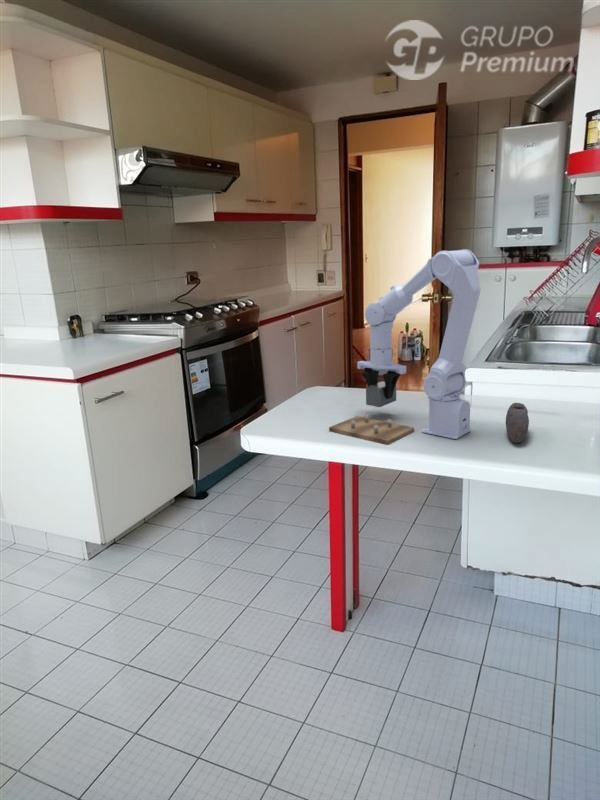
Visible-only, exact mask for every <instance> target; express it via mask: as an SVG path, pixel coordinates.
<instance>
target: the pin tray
mask: <svg viewBox="0 0 600 800" xmlns="http://www.w3.org/2000/svg"><path fill="white" fill-rule="evenodd" d="M328 432H332V433H337V434H341V435H345V436H350V437H354V438H358V439H363V440H367V441H370V442H375V443H380V444H383V445H387V446H388V445H390V444H392V443H395V442H396V441H398V440H400V439H402V438H404V437H406V436H408V435H410V434H412V433H414V432H415V427H413V426H408V425H403V424H397V423H393V422H392V418H387V421H383V420H379V419H373V418H369V414H364V416H363V417H362V416H358V415H356V416H353V417H351V418H348V419H347V420H343V421H341V422H338V423H337V424H334V425H330V427H328Z"/></svg>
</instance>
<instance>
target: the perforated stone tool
mask: <svg viewBox="0 0 600 800" xmlns="http://www.w3.org/2000/svg"><path fill="white" fill-rule="evenodd" d="M528 413H529V411H528V408H527V407H526V405H525V404H523V403H520V402H513V403H512V404H511V405H510V406H509V407H508V409H507V411H506V415H505V427H506V428H505V429H506V432H507V434H508V436H509V439H510V440H511V441H512V442H513V443H514V444H519V443H521V442H523V441H524V440H525V439H526V436H527V435H528V431H529V426H530V418H529V415H528Z"/></svg>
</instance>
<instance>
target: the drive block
mask: <svg viewBox="0 0 600 800" xmlns="http://www.w3.org/2000/svg"><path fill="white" fill-rule="evenodd" d="M365 399H366V400H365V405H366V406H370V407H376V408H382V407H385V406H387V405H389V404H392V403H394V402H396V401H397V384H396V385H395V388H394V392H393V396H392V398H390V399H386V388H385V381H383V380H382V381H378V382H377V383H376V384H373V385H370V386H368V385H367V386H366V387H365Z"/></svg>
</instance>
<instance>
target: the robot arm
mask: <svg viewBox="0 0 600 800" xmlns="http://www.w3.org/2000/svg"><path fill="white" fill-rule="evenodd" d="M479 267H480V261H479V260H478V258H477V257H476V255H475V254H474V253H473V251H471V250H470V249H465V248H463V249H458V250H439V251H437V252H436V254H435V255H434V256H432V257H430V258H429V259H428V260H427V261H426V263H425V264H424V265H423V266H422V267H421V268H420V269H419V270H418V271H417V272H416V273H415V274H414V275H413V276H412V277H411V278H410V279H409V280H408V281H407V282H406V283H405V284H404V285H403V284H396V285H392V286H390V290H389V292H387V293H386V294H385V295H384V296H380V298H378V302H372V303H369V304H368V306H367V307H366V308H365V312H364V317H365V320H366V323H367V324H369V351H370V355H369V356H370V358H369V359H370V360H359V361H357V362H356V364H357V365H356V368H357V370H362V369H363V371H361V375H362V377H363V378H364V380H365V382H366V385H367V386H370V385H373V384H376V383H378V379H379V373H380V372H385V373H383V374H382V377H383V380H384V381H385V388H386V399H390V398H392V396H393V392H394V388H395V385H396V386H397V382H398V381H399V379H400V376H401V375H404V374H407V365H403V364H398V363H394V362H393V361H392V359H393V357H392V356H393V355H392V354H393V346H392V342H393V340H392V339H393V338H392V331H393V330H392V329H393V327H394V322H395V320H396V318H397V315H398V314H399V313H400V312H402V311H403V310H404V309H405V308H407V307H408V306H409V305H411V304H412V303H413V297H414V295H415V294H417V293H418V292H419V291H420V290H422V289H424V287H427V286H428V285H429V284H431V283H432V282H433V281H434V280H436V279H438V280H439V281H440V282H441V283H443V284H444V285H445V286H446V287H447V288H449V290H450V291H451V293H452V294H453V298H452V302H451V307H450V311H449V314H448V315H449V316H448V319H447V323H446V327H445V332H444V336H443V339H442V343H441V347H440V351H439V356H438V358H437V360H435V362H434V363H433V364H432V366H431V367H430V370H429V373H428V375H426V377H425V378H424V381H423V389H424V393H425V394H426V396H428V397H427V398H428V401H429V402H428V404H429V405H428V406H429V410H428V411H429V412H428V427H425V428H424V429H422V430H421V432H422V433H425V434H429V435H435V436H439V437H444V438H449V439H454V440H458V439H459V438H461V437H462V436H464V435H466V434H467V433H469V432H471V431H472V429H471V428H470V425H471V424H470V422H471V421H470V420H471V405H470V402H469V401H468V400H465V399H462V398H461V397H460V396H461V391H462V390H463V389H465V386H466V384H467V383H466V379H467V378H466V370H467V369H466V368H467V367H466V366H465V364H463V359H464V358H463V357H464V354H465V351H466V347H467V343H468V340H469V336H470V332H471V327H472V324H473V320H474V316H475V312H476V310H477V306H478V301H479V297H480V294H481V284H480V277H479V276H480V275H479V271H478V270H479Z"/></svg>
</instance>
